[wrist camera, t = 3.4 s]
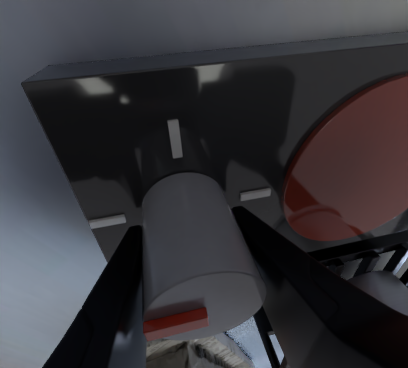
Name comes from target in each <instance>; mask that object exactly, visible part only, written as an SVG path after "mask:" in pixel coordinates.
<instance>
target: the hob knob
mask: <svg viewBox="0 0 408 368" xmlns="http://www.w3.org/2000/svg"><path fill="white" fill-rule="evenodd" d="M141 216H142V321H143V334H144V336H145V338H146V340H147V341H152V340H156V339H160V338H163V339H168V340H182V341H183V340H195V339H201V338H206V337H210V336H214V335H217V334H220V333H223V332H225V331H228V330H230V329H232V328H234V327H236V326H238V325H240V324H242V323H243V322H245V321H246V320H248V319H249V318H251V317H252V316H253V315H254V314H255V313H256V312H257V311H258V310H259V309H260V308H261V307H262V305H263V304H264V302H265V300H266V296H267V287H266V284H265V282H264V280H263V277H262V275H261V273H260V271H259V269H258V266H257V264H256V262H255V260H254V258H253V255H252V253H251V251H250V249H249V247H248V244H247V242H246V240H245V238H244V236H243V233H242V231H241V229H240V227H239V225H238V222H237V220H236V218H235V216H234V213H233V211H232V209H231V207H230V205H229V202H228V200H227V198H226V196H225V194H224V191H223V189H222V188H221V186H220V185H219V184H218V183H217V182H216V181H215V180H213V179H212V178H210V177H208V176H206V175H203V174H199V173H192V172H185V173H178V174H174V175H171V176H168V177H166V178H164V179H162V180H160V181H158V182H157V183H156V184H155V185H153V186H152V187H151V188H150V189H149V191H148V192H147V193H146V195H145V197H144V199H143V202H142V207H141Z"/></svg>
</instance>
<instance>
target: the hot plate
mask: <svg viewBox="0 0 408 368" xmlns="http://www.w3.org/2000/svg"><path fill="white" fill-rule="evenodd" d="M281 205H282V210H283V214H284V217H285V219H286V221H287V222H288V224H289V225H290V226H291V228H292V229H293V230H294V231H295V232H297V233H298V234H299V235H301V236H303V237H305V238H308V239H311V240H317V241H336V240H342V239H347V238H351V237H354V236H357V235H360V234H363V233H366V232H368V231H370V230H373V229H375V228H377V227H379V226H381V225H383V224H384V223H386V222H388V221H390V220H391V219H393V218H395V217H396V216H398V215H399V214H401V213H402V212H404V211H405V210H406V209H408V73H407V74H402V75H397V76H394V77H391V78H388V79H385V80H383V81H380V82H378V83H376V84H374V85H372V86H370V87H368V88H366V89H364V90H362V91H361V92H359V93H357V94H356V95H354V96H352V97H351V98H350V99H348V100H347V101H345V102H344V103H343V104H341V105H340V106H339V107H337V108H336V109H335V110H334V111H333V112H332V113H330V114H329V115H328V116H327V117H326V118H325V119H324V120H323V121H322V122H321V123H320V124H319V125H318V126H317V127H316V128H315V129H314V130H313V131H312V133H311V134H310V135H309V136H308V138H307V139H306V140H305V141H304V143H303V144H302V146H301V147H300V149H299V150H298V152H297V153H296V155H295V157H294V158H293V160H292V162H291V164H290V166H289V168H288V171H287V173H286V176H285V179H284V183H283V187H282V194H281Z"/></svg>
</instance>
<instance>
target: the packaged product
mask: <svg viewBox="0 0 408 368" xmlns="http://www.w3.org/2000/svg"><path fill="white" fill-rule="evenodd" d="M146 368H255V366H254V364H253V362H252V361H251V360H250V359H249V358H248V357H247V356H246V355H245V354H244V353H243V352H242V350H241V349H240V348H239V347H238V346H237V344H236V343H235V342H234V341H233V340H232V339H231V338H229V337H228V336H226V335H225V334H224V333H220V334H217V335H214V336H210V337H206V338H201V339H195V340H183V341H182V340H168V339H163V338H160V339H156V340H152V341H147V350H146Z"/></svg>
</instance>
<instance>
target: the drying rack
mask: <svg viewBox="0 0 408 368" xmlns="http://www.w3.org/2000/svg"><path fill="white" fill-rule="evenodd" d="M394 250H396V251H395V252H394V254H393V255H392V257H391V258H390V260H389V261H388V263H387V264H386V266H385V267H384V269H383V270H384V271H390V272H392V273H393V274H394V275H395V274H396V273H397V272H398V270H399V269H400V267H401V266H402V265H403V263H404V262H405V261H406V259H407V258H408V229H407V230H405V231H401V232H396V233H392V234H387V235H383V236H378V237H374V238H369V239H365V240H360V241H356V242H352V243H347V244H343V245H338V246H334V247H329V248H325V249H320V250H316V251H311V252H307V254H309V255H310V257H313V258H314V259H316V260H317V261H318V262H320V263H321V264H323V265H324V266H325V267H326V266H329V267H328V269H330V270H331V271H333V272H334V273H336V274H337V275H339V276H340V274H341V272H342V270H343V268H344V266H345V265H344V263H343V262H348V261H352V260H356V259H360V258H363V259H362V261H361V263H360V265H359V267H358V268H357V270H356V272H355V274H354V276H353V277H355V276H358V275H361V274H364V273H368V272H371V271H372V269H373V268H374V266H375V265H376V263H377V261H378V260H379V258H380V256H379V255H378V254H381V253H386V252H390V251H394ZM353 277H352V278H353ZM399 280H400V281H401V282H402V283H403V284H404V285H405V286H406V287H407V288H408V269H407V270H406V271H405V273H404V274H403V275H402V277H401V278H400V279H399ZM253 317H254V320H255V322H256V325H257V328H258V331H259V333H260V336H261V339H262V341H263V344H264V347H265V350H266V352H267V355H268V358H269V361H270V363H271V366H272V368H290V367H289V365H288V362H287V360H286V358H285V355H284V358H283V360H282V363H281V365H280V363H279V360H278V358H277V355H276V352H275V350H274V347H273V345H272V342H271V340H270V337H269V335H273V334H275V333H274V331H273V328H272V326H271V324H270V322H269V319H268V317H267V315H266V312H265V310H264V308H263V306H262V307H261V308H260V309H259V310H258V311H257V312H256V313H255V314H254V315H253Z"/></svg>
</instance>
